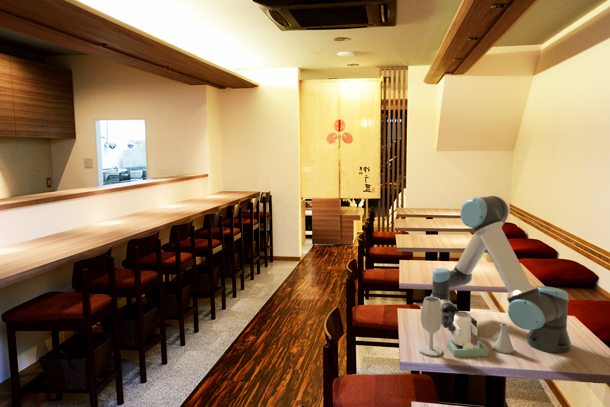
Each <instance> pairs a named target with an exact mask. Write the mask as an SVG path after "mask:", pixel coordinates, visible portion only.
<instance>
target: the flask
mask: <svg viewBox="0 0 610 407" xmlns="http://www.w3.org/2000/svg"><path fill="white" fill-rule="evenodd" d="M509 328H510V325H509V324H508V323H500V332H499V335H498V337H497V340H496V342H495V343H494V346H493V349H494V350H495V351H497V352H498V353H504V354H512V353H514V350H515V349H514V347H513V344H512V341H511V338H510V335H509V334H510V333H509Z"/></svg>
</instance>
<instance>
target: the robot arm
mask: <svg viewBox="0 0 610 407" xmlns="http://www.w3.org/2000/svg"><path fill="white" fill-rule="evenodd" d="M508 216H509V206H508V204H507V202H506V201H505V200H504V199H503V198H501V197H499V196H496V195H490V196H480V197H478V196H477V197H473V198H472V197H471V198H469V199H467V200H465V201H464V203H463V204H462V205H461V209H460V219H461V222H462V223H463V224H464V226H466V227H468V228H471V229H472V231H473V235H472V236H471V238H470V240H469V242H468V243H467V246H466V247H465V248H464V250H463V252H462V254H461V256H460V257H459V260H458V262H457V263H456V265H455V267H454V268H453V270H449V269H447V268H444V267H443V268H442V267H440V268H435V269H433V270H432V278H431V280H432V281H431V283H432V285H431V286H432V287H431V288H432V290H431V291H432V292H431V294H430V296H429V297H436V298H439V299H440V301H441V304H442V311H443V320H442V323H441V326H442V327H443V328H444V329H447V328H448V330H449V331H453V332H454V331H455V332H456V334H457V335H458V336H460V331H461V329H460V328H459V327H458V326H457V325H455V324H454V316H455V313H456V312H458V311H460V310H459V308H458V307H457V306H456V305H455V304H454V303H453V302H452V301H451V300H450V289H453V288H456V287H460V286H465V285H467V284H470V283H471V282H472V279H473V275H472V273H473V271H474V269H475V268H476V266H477V264H478V263H479V261H480V259H482V257H483V254H484V253H485V251H486V250H487V252H488V255H489V257H490V259H491V261H492V262H493V264H494V267H495V268H496V270H497V272H498V275H499V277H500V278H501V280H502V282H503V285H504V286H505V288H506V290H507V292H508V294H507V296H506V300H507V302H508V304H509V305H508V307H507V308H508V309H507V313H508V314H507V315H508V317H509V319H510V321H511V323H513V324H514V325H515V326H516V327H517V328H519V329H521V330H525V331H528V334H527V338H526V339H527V341H526V342H527V343H528V345H529V346H531V347H533V348H534V349H536V350H539V351H543V352H547V353H555V354H563V353H568V352H570V351H571V350H572V349H571V348H572V342H571V339H570V337H569V333H568V329H567V328H568V327H567V324H568V311H569V310H568V309H569V302H570V301H569V293H568V292H567V291H566V290H564V289H560V288H557V287H552V286H546V285H537V286H535V285H533V284H531V282H530V279H529V278H528V276H527V275H526V272H525V271H524V269H523V267H522V265H521V263H520V261H519V259H518V257H517V255H516V253H515V251H514V249H513V247H512V246H511V244H510V241H509V240H508V238H507V236H506V234H505V232H504V231H503V230H504V229H503V226H505V225H504V224H505V223H506V221H507V219H508ZM470 317H471V334H473V335H475V336H478V321H477V320H476V319H475V318H474V317H472V316H471V315H470Z"/></svg>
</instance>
